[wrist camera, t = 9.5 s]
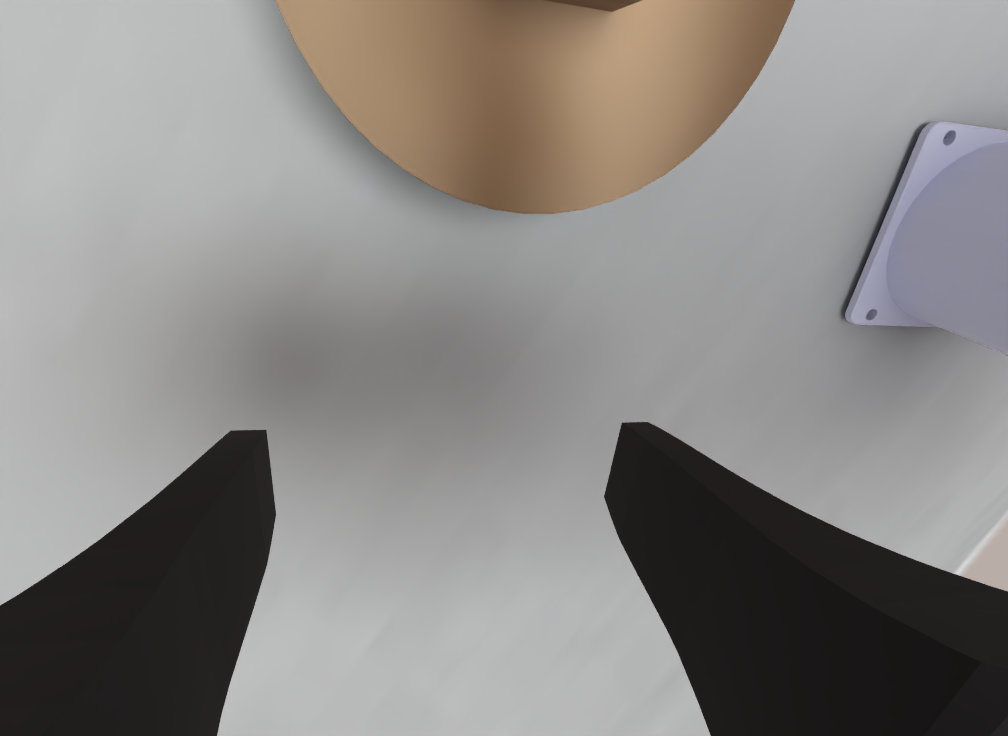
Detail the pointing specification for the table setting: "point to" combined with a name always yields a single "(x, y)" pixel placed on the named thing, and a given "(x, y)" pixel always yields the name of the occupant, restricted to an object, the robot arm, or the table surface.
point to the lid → (536, 87)
